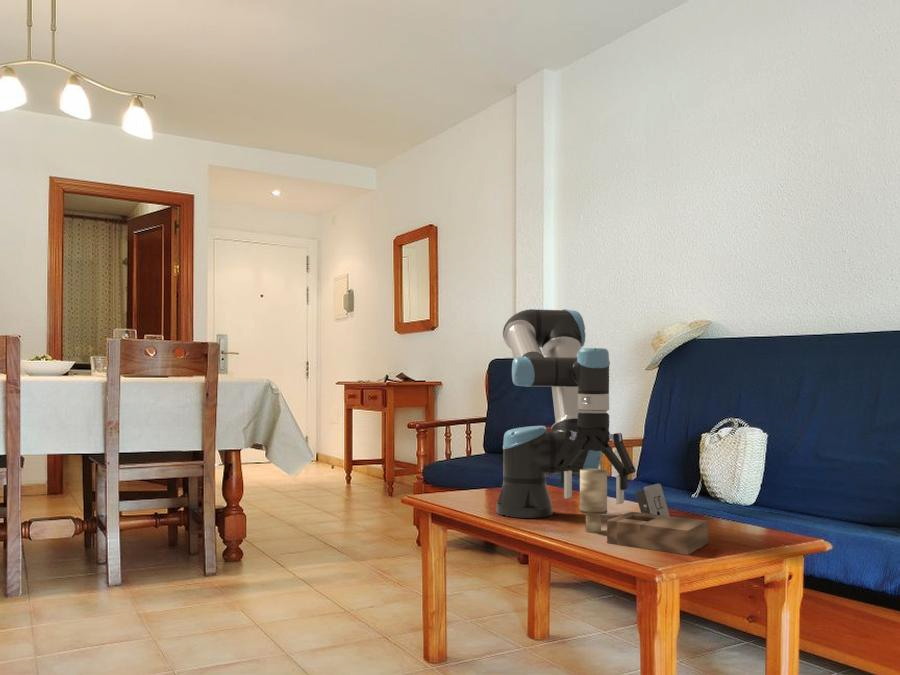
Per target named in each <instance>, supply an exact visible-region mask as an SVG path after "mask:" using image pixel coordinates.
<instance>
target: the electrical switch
mask: <svg viewBox="0 0 900 675" xmlns="http://www.w3.org/2000/svg"><path fill="white" fill-rule="evenodd" d="M662 487H663V486H662V485H661V483H655V484H651V485H648V486H647V485H646V486H644V487H643V490H642V489H641V490H638V491H635V497H636V499H637V500H636V501H637V503H638V506H639V511H640V513H647V514H655V515H664V516H670V511H669V508H668V505H667V502H666V498H665V493H664V491H663V488H662Z"/></svg>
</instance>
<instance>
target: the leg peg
mask: <svg viewBox="0 0 900 675" xmlns="http://www.w3.org/2000/svg"><path fill="white" fill-rule="evenodd" d="M579 512H580V514H585V532H587V533H592V534H598V533H602V515H606V514H608V470H607V469H601V468H598V469H580V475H579Z"/></svg>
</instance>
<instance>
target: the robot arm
mask: <svg viewBox="0 0 900 675" xmlns="http://www.w3.org/2000/svg"><path fill="white" fill-rule="evenodd" d="M502 337H503V341H504V343H505V344H506V346H507V347H508V348H509V349H510V351H511V353H512V355H513V357H514V358H513V360H512V364H511V379H512V384H513V385H514V386H518V387H526V388H528V387H529V388H530V387H531V388H532V387H538V388H539V387H544V388H545V387H550V388H551V393H552V401H553V411H554V412H553V413H554V418H555V419H554V421H555V422H554V423H553V424H552V426H551V428H550V430H548V429H547V427H546V426H545V425H531V426H530V425H529V426H522V427H515V428H511V429H508V430H506V431H505V432H504V435H503V442H502V444H503V445H502V450H503V452H502V453H503V454H502V455H503V458H502V459H503V463H502V468H503V469H502V472H503V473H502V474H503V475H502V479H503V480H502V486H501V489H500V493H499V495H498V499H497V502H496V513H497V514H498V515H499V516H503V515H505V517H509V516H510V518H517V519H518V518H520V519H534V518H535V519H538V518H546V517H550V516H552V515H553V508H554V506H553V503H552V500H551V497H550V494H549V491H548V487H547V475H560V482H561V484H563V498H564V499H569V498H570V499H571V498H572V497H573V475H577V476H578V475H579V476H580V469H600V468H599V467H600V463H601V459H602V454H604V456H605V457H606V458H607V460H608V461H609V462H610V464H611V465H612V466H613V467H614V469H615V471H616V473H618V474H619V475H616V476H615V479H616V480H615V482H616V483H615V486H616V488H615V492H616V493H615V494H616V496H615V501H616V505H622V504H625V490H627V489H628V476H629V475H631V474H635V473H636V468H635V466H634V463H633V462H632V459H631V457H630V454H629V453H628V450H627V448H626V445H625V444H624V442H623V440H624V439H623V434H622V432H617V433H610V414H609V413H608V411H610V364H611V361H610V353H609V350H608V349H606V348H600V347H599V348H598V347H587V348H586V347H585V348H584V345H585V343H586V327H585V322H584V319H583V316H582V314H580V312H579V311H577V310H573V309H571V310H570V309H532V308H531V309H524V310H521V311H518V312H517V313H514V314H513V315H512V316H511V317H509V319H507V321H506V322H505V324H504V326H503V330H502ZM610 440H611V442H612V443H613V445H614V447H615V449H616V451H617V453H618V455H619V457H618V456H617V455H616V454H615V452H614V451H613V448H612V447H611V446H610V444H609V442H610ZM619 458H620V459H619Z"/></svg>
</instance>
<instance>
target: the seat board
mask: <svg viewBox="0 0 900 675" xmlns="http://www.w3.org/2000/svg"><path fill="white" fill-rule="evenodd" d="M606 520H607V521H606V543H607V544H610V545H611V544H612V545H618V546H625V547H632V548H637V549H638V548H639V549H646V550H651V551H659V552H664V553H671V554H672V553H673V554H680V555H684V556H685V555H686V556H688V555H690V554H693V553H694V552H696V551H697V549H698V550H700V549H701V548H703V547H705V546H707V545H708V544H709V521H708V520H705V519H696V518H689V517H688V518H687V517H679V516H664V515H655V514H647V513H641V512H639V511H638V512H637V511H629V512H627V513H623V514H621V515H618V516H615V517H612V518H610V519H606ZM706 544H707V545H706Z"/></svg>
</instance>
